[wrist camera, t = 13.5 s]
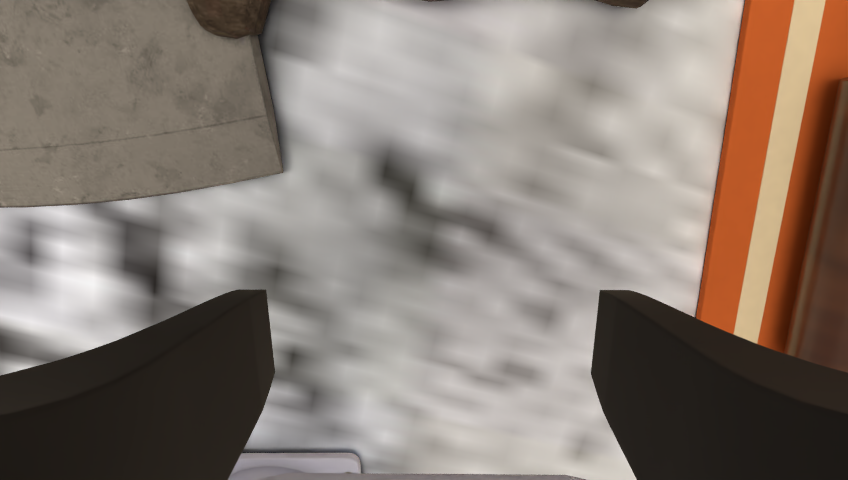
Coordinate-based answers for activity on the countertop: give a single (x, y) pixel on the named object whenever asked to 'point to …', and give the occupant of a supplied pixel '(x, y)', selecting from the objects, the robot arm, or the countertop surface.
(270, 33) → the countertop surface
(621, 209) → the countertop surface
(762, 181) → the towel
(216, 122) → the cleaver
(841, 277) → the rolling pin
